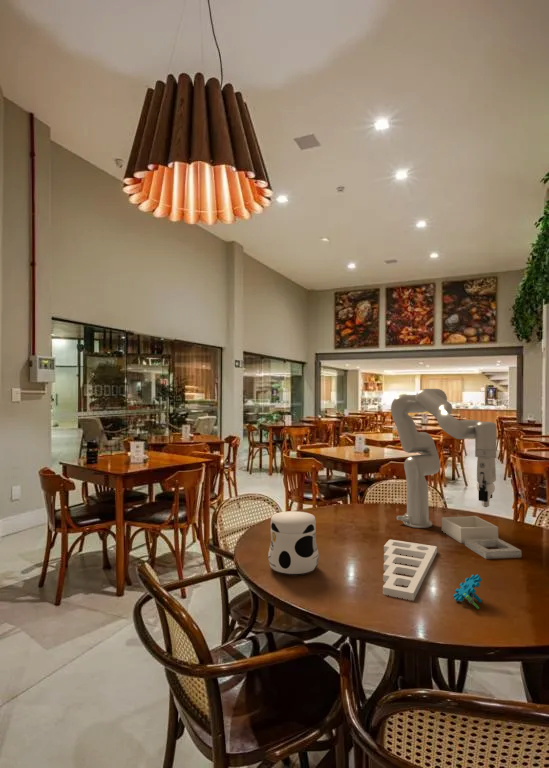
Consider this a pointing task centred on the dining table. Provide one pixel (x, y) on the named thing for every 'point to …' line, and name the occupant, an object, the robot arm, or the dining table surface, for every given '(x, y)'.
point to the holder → (406, 567)
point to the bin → (468, 528)
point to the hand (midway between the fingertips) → (485, 498)
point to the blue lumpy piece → (468, 590)
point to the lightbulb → (490, 490)
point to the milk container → (293, 543)
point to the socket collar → (502, 552)
